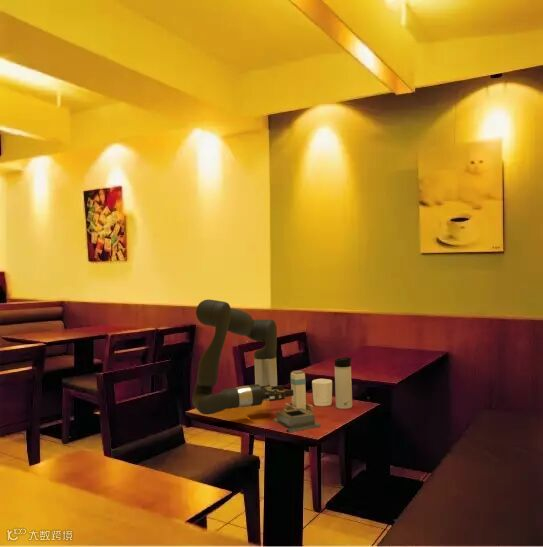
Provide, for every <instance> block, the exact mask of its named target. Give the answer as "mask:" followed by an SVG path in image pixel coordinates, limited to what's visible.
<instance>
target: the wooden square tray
mask: <svg viewBox="0 0 543 547" xmlns="http://www.w3.org/2000/svg"><path fill="white" fill-rule="evenodd" d="M292 409H298V408H296V407H294V406H292V402H289V403H287V402H285V403H284V408H283V411H286V410H292ZM306 411H308V412H310V413H313V412H315V410H314V405H312V404H310V403H308V402H306Z"/></svg>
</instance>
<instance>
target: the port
mask: <svg viewBox="0 0 543 547" xmlns="http://www.w3.org/2000/svg"><path fill="white" fill-rule="evenodd" d="M275 415H276V418H272V419H271V420H272V421H274V422H275V423H277V424H278V425H280V426H282V427H283V428H285V429H286V430H285V431H286V432H287V433H294V432H295V433H296V432H300V431H306V430H307V431H308V430H311V429H317V428H321V423H319V422H317V421H316V419H315V416H316V415H315V413H313V412H308V411H306V410H304V409H302V408H298V409H292V410H281V411H280V410H279V411H276V414H275Z"/></svg>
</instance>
